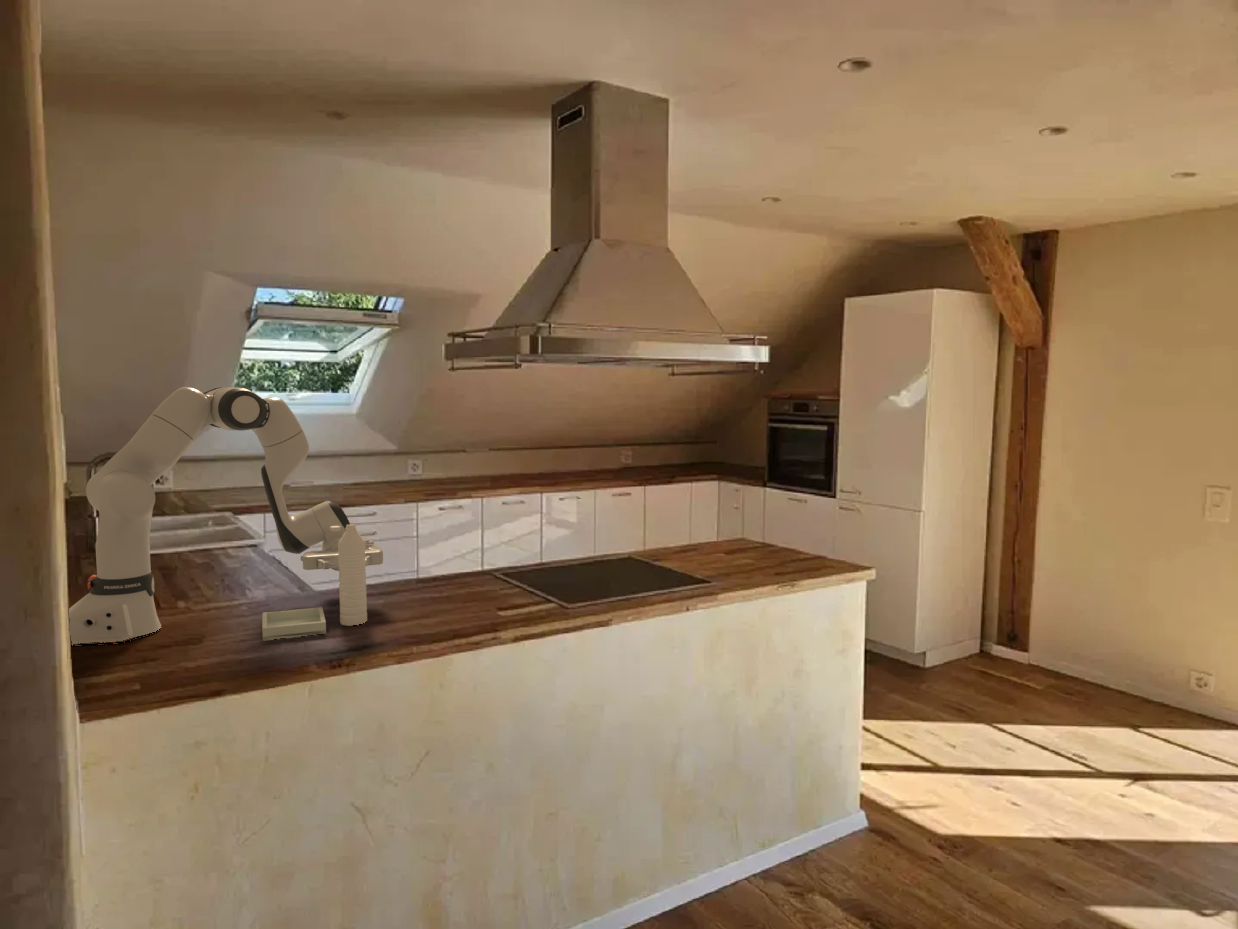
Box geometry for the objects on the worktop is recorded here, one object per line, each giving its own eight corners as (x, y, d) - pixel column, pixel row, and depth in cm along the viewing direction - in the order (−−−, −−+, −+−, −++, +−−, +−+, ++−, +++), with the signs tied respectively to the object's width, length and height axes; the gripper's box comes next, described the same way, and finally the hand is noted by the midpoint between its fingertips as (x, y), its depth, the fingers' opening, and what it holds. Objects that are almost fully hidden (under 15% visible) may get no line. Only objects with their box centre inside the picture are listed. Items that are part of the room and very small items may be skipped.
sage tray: (262, 641, 196) (262, 628, 196) (263, 624, 209) (262, 612, 209) (326, 634, 201) (325, 622, 201) (322, 618, 214) (322, 607, 214)
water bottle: (358, 617, 215) (356, 521, 213) (372, 622, 211) (369, 524, 208) (326, 624, 209) (323, 525, 206) (340, 630, 205) (337, 528, 202)
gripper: (299, 545, 224) (301, 555, 211) (379, 540, 232) (385, 549, 219) (300, 568, 224) (302, 580, 212) (379, 562, 232) (386, 573, 220)
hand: (345, 564), depth 215 cm, fingers open, 8 cm apart
